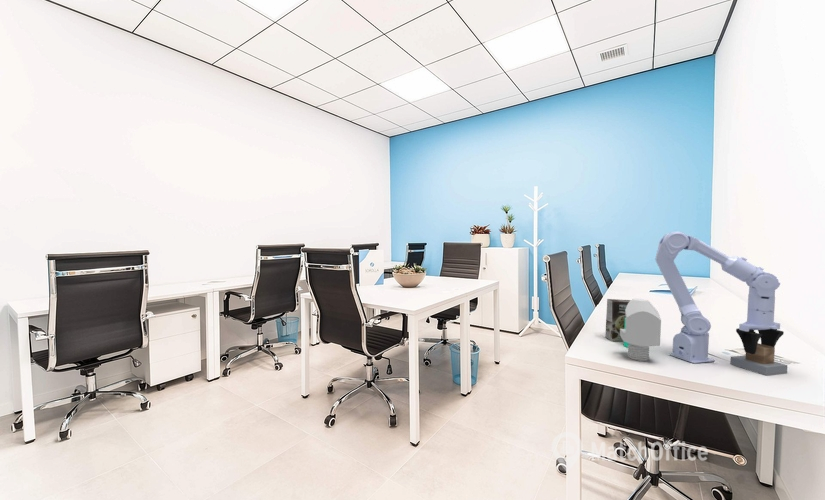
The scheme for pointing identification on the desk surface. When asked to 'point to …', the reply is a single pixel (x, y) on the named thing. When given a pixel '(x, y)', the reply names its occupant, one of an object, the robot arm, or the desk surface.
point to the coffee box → (615, 318)
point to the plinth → (759, 366)
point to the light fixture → (641, 328)
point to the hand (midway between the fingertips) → (758, 352)
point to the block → (762, 354)
